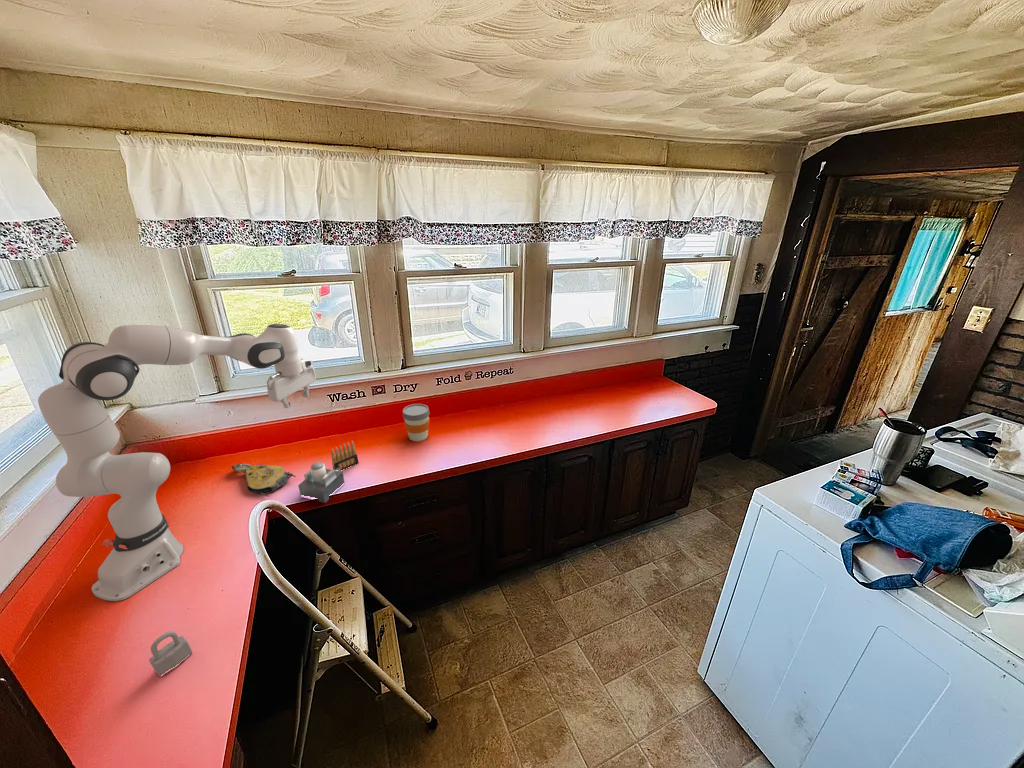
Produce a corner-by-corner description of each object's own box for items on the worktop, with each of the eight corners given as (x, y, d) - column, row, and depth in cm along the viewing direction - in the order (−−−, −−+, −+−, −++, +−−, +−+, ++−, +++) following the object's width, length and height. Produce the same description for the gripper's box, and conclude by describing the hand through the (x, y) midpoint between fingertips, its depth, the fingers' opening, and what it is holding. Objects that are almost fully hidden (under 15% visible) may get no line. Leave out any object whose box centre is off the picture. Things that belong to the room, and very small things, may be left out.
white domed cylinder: (320, 482, 159) (317, 470, 157) (310, 480, 161) (307, 467, 158) (329, 475, 164) (327, 462, 161) (319, 473, 165) (317, 460, 163)
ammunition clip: (335, 474, 175) (330, 450, 170) (333, 472, 176) (328, 448, 171) (359, 463, 182) (354, 440, 177) (356, 461, 183) (352, 438, 178)
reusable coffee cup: (405, 444, 196) (402, 417, 190) (405, 431, 207) (402, 405, 201) (432, 441, 198) (429, 414, 192) (430, 428, 210) (428, 402, 203)
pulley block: (250, 449, 180) (295, 469, 167) (256, 458, 183) (299, 479, 170) (218, 469, 170) (263, 493, 157) (224, 479, 173) (268, 503, 160)
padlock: (161, 679, 100) (147, 653, 96) (154, 670, 102) (139, 644, 98) (194, 654, 106) (181, 628, 101) (186, 646, 108) (174, 620, 103)
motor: (325, 502, 158) (320, 484, 154) (301, 497, 161) (296, 478, 157) (350, 478, 172) (347, 460, 168) (328, 473, 175) (324, 456, 171)
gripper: (273, 379, 139) (282, 415, 145) (315, 358, 157) (322, 391, 163) (258, 377, 141) (268, 413, 146) (301, 357, 159) (308, 389, 164)
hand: (297, 401), depth 155 cm, fingers open, 8 cm apart
